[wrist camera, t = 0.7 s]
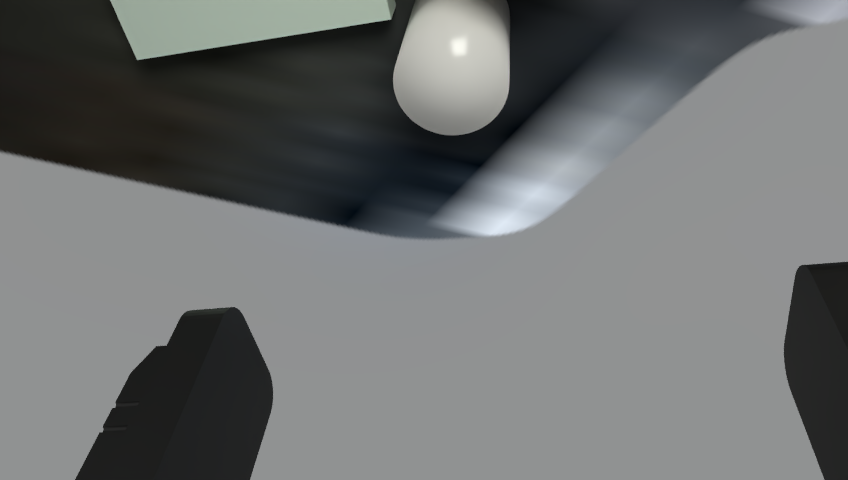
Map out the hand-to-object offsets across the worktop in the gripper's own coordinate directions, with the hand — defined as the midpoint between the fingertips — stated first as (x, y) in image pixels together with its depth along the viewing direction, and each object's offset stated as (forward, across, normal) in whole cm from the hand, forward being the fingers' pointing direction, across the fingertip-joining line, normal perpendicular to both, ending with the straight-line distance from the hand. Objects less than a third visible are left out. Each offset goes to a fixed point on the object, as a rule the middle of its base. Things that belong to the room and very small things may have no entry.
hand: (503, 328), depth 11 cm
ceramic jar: (+21, +2, +4) cm, 22 cm away
